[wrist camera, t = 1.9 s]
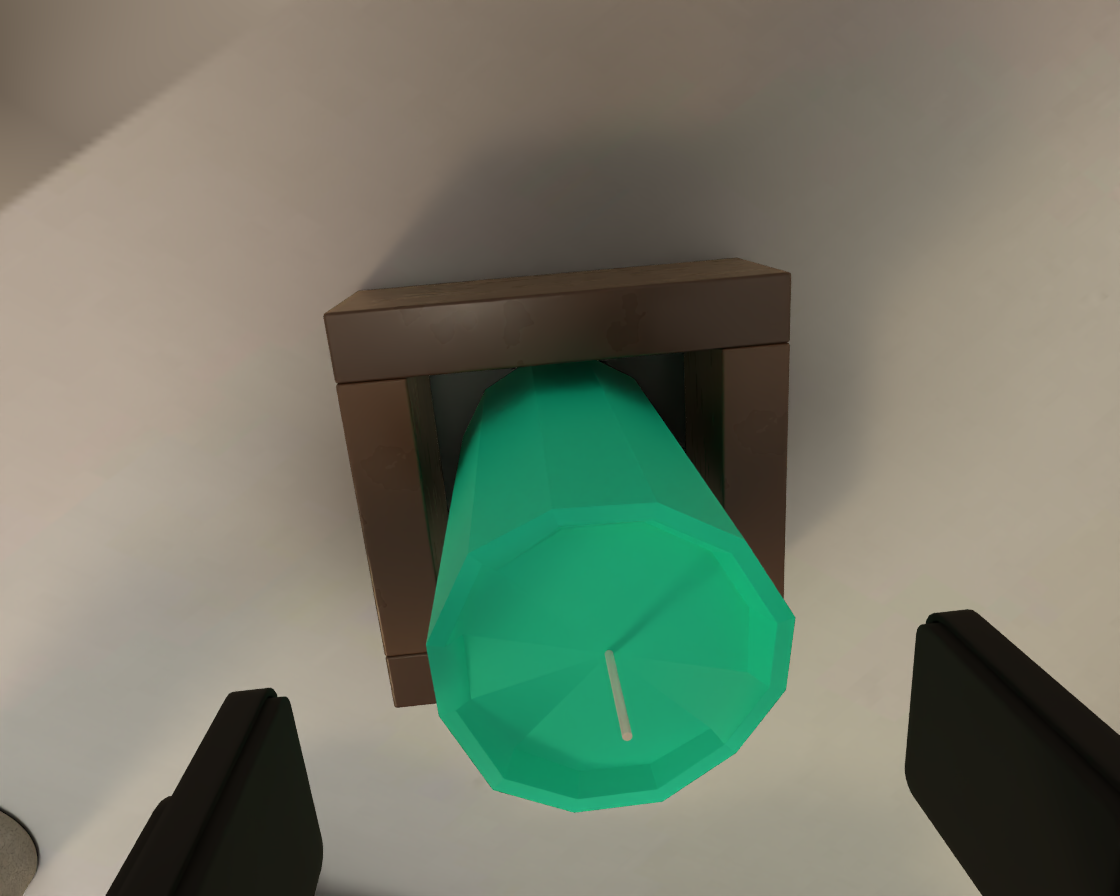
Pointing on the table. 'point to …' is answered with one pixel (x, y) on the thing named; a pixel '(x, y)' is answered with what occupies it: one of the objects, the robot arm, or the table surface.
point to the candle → (595, 600)
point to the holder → (541, 339)
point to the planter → (15, 857)
